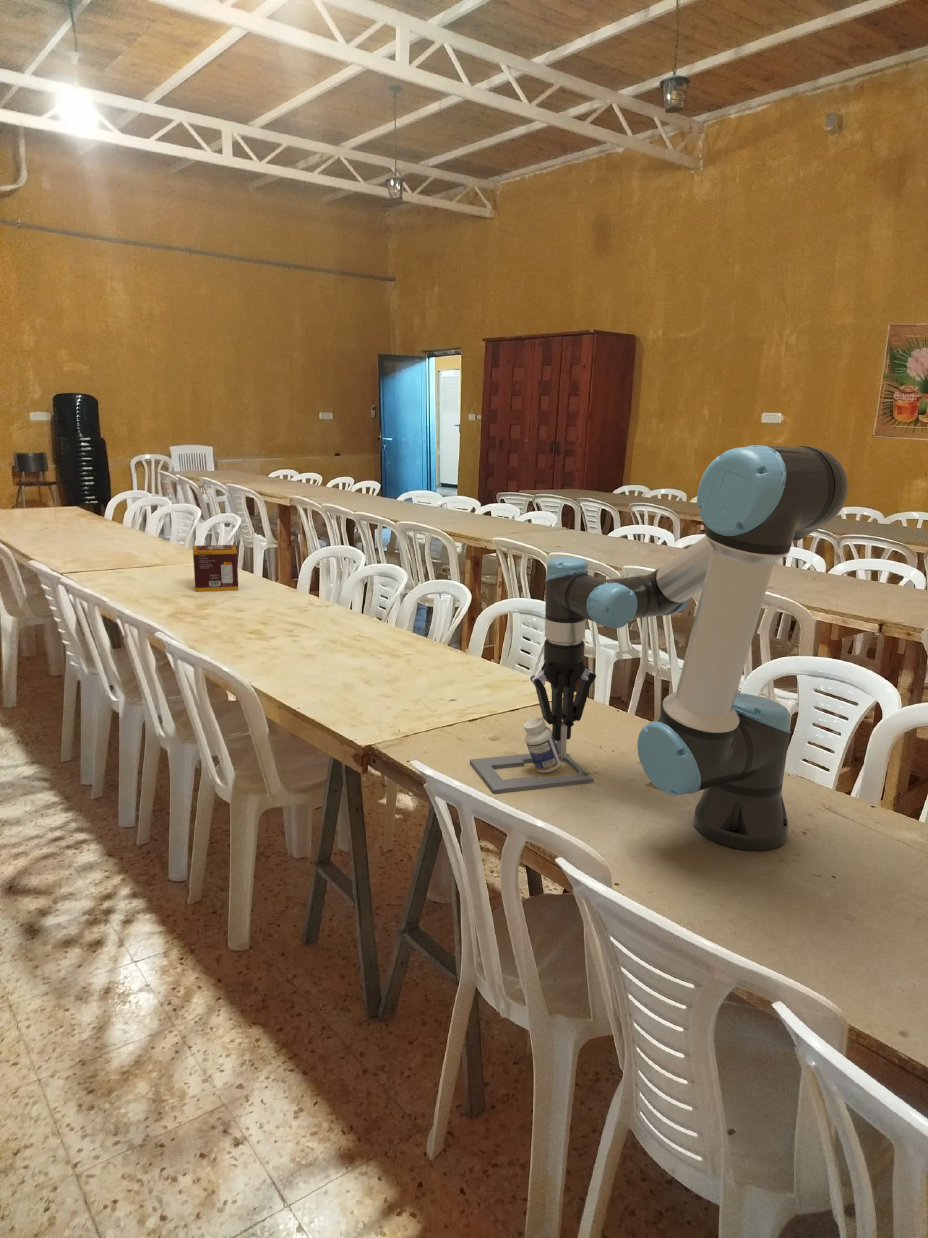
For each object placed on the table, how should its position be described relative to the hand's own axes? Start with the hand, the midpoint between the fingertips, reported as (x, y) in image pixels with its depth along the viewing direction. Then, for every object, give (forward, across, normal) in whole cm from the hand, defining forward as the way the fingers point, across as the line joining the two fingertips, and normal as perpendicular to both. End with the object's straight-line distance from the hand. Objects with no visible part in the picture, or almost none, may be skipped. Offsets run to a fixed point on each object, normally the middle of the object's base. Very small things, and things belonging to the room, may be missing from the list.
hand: (560, 754), depth 166 cm
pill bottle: (+2, +3, +1) cm, 3 cm away
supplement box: (+5, +62, -180) cm, 190 cm away
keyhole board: (+2, +7, +1) cm, 7 cm away
